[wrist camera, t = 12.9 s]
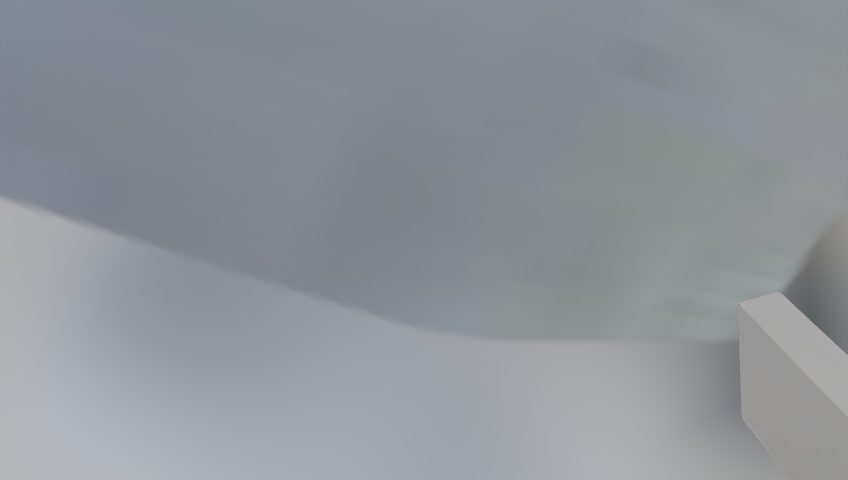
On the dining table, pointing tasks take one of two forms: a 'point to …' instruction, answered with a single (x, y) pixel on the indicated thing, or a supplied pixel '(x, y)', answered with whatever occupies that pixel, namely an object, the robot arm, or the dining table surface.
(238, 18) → the dining table surface
